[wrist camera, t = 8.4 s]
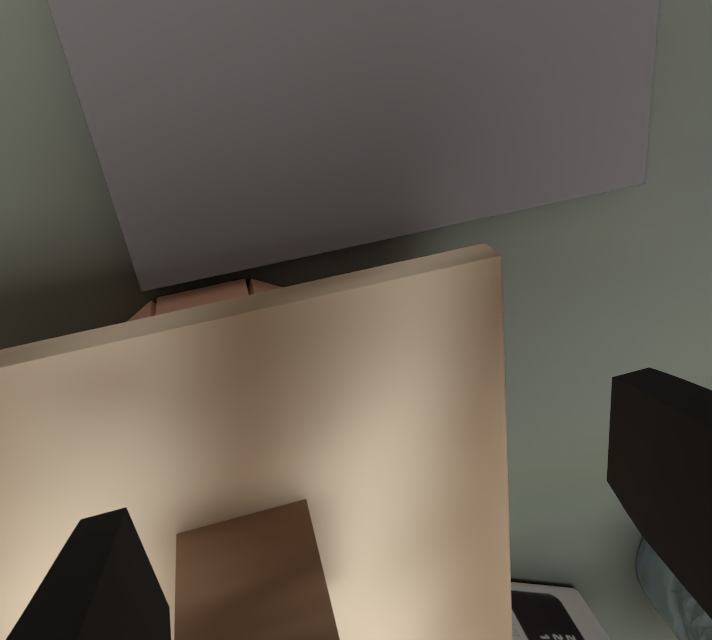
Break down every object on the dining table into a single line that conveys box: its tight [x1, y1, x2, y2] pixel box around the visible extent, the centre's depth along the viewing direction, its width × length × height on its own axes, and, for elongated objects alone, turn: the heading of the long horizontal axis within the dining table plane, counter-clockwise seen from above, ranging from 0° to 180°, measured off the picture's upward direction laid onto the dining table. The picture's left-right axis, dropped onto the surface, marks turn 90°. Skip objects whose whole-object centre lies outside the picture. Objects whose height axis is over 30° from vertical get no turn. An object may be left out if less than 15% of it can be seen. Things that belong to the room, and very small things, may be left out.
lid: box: [0, 243, 512, 640], centre depth 14 cm, size 13×13×5 cm
